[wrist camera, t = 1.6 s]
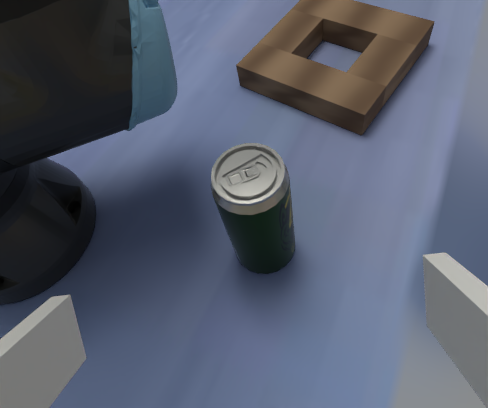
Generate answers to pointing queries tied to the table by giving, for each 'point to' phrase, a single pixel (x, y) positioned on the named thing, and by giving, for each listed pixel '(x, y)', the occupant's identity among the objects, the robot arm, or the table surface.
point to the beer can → (255, 205)
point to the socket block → (330, 79)
